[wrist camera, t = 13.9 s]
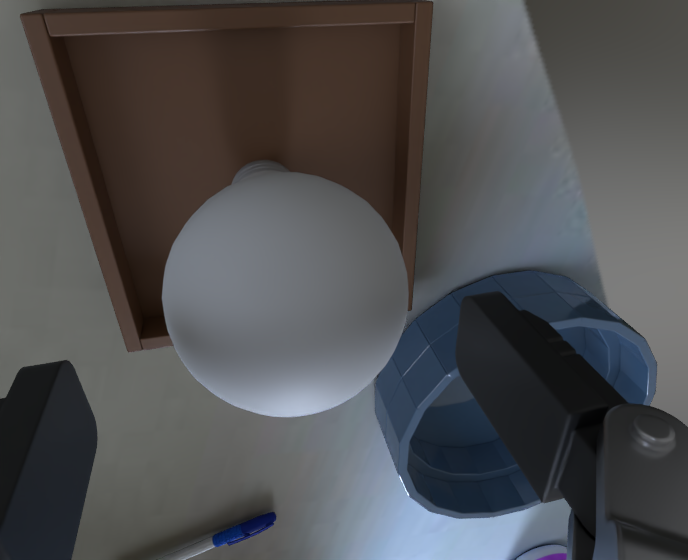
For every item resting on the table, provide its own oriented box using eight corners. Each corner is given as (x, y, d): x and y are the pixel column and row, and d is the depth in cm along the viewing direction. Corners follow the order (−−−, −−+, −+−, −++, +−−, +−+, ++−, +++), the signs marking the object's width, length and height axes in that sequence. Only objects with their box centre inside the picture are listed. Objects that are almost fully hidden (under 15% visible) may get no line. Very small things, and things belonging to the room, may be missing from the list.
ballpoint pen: (271, 505, 31) (273, 520, 30) (277, 513, 31) (278, 527, 30) (116, 573, 31) (113, 590, 30) (124, 579, 31) (122, 596, 30)
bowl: (371, 473, 31) (393, 541, 27) (375, 287, 24) (406, 346, 20) (568, 432, 34) (613, 489, 30) (628, 252, 26) (697, 298, 23)
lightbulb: (199, 79, 17) (185, 202, 8) (361, 132, 19) (497, 276, 10) (166, 236, 19) (125, 466, 10) (311, 266, 22) (384, 478, 13)
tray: (134, 323, 22) (127, 353, 20) (40, 9, 15) (18, 13, 14) (397, 286, 24) (411, 310, 22) (412, -2, 18) (434, 1, 16)
